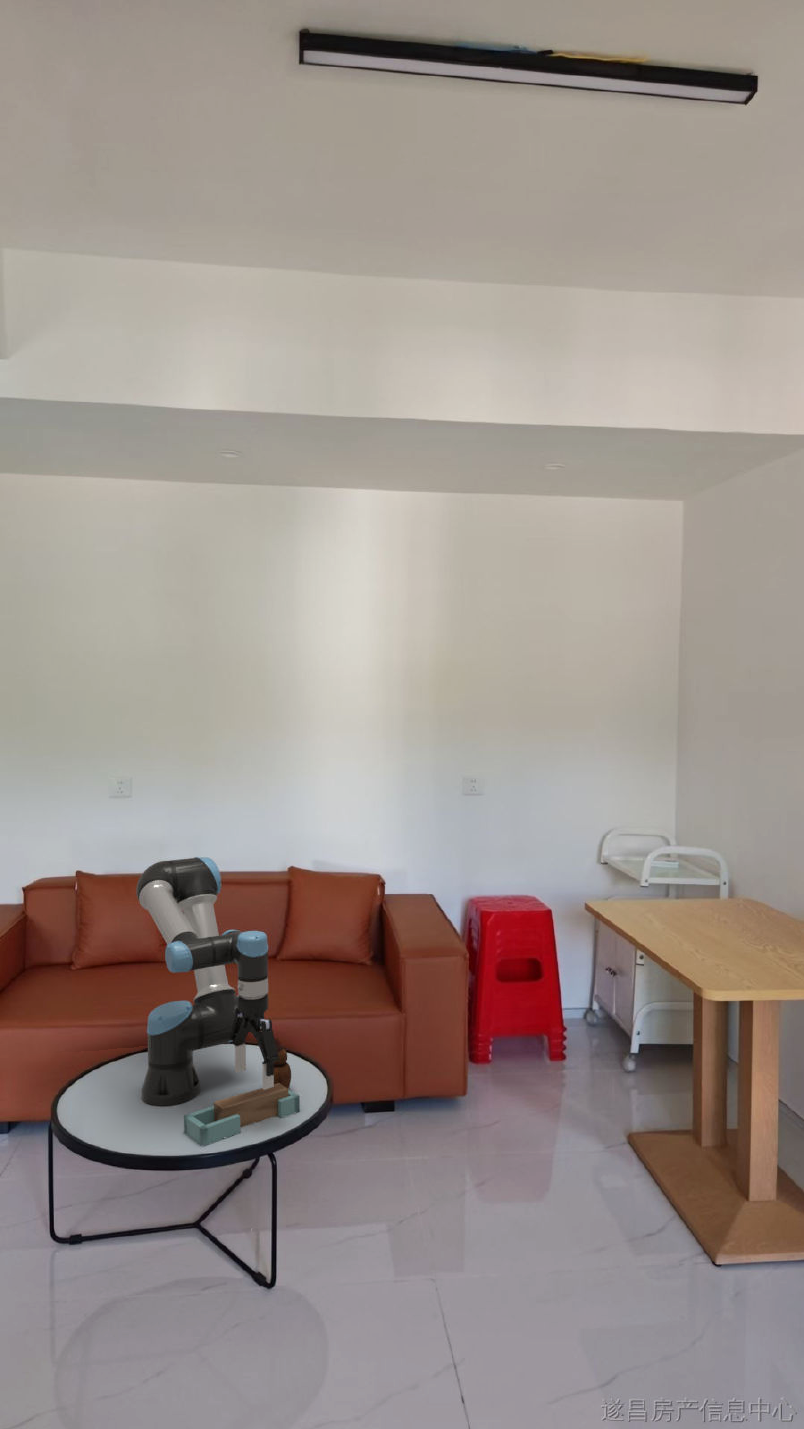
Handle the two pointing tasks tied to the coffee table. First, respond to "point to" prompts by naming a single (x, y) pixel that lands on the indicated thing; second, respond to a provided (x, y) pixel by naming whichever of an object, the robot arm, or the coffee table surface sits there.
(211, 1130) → the endcaps
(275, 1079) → the wooden figurine
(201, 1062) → the coffee table surface
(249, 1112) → the slat
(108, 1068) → the coffee table surface
